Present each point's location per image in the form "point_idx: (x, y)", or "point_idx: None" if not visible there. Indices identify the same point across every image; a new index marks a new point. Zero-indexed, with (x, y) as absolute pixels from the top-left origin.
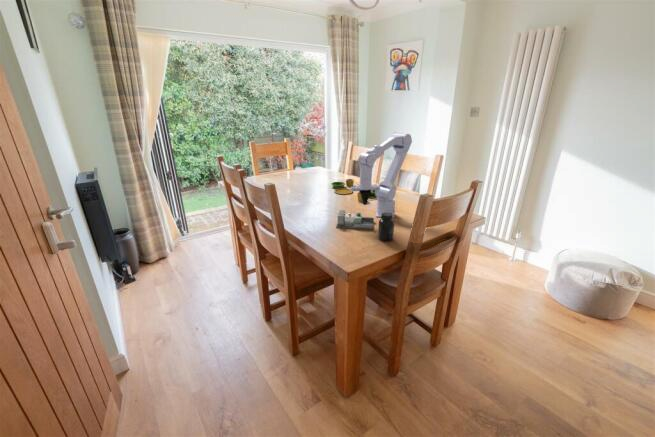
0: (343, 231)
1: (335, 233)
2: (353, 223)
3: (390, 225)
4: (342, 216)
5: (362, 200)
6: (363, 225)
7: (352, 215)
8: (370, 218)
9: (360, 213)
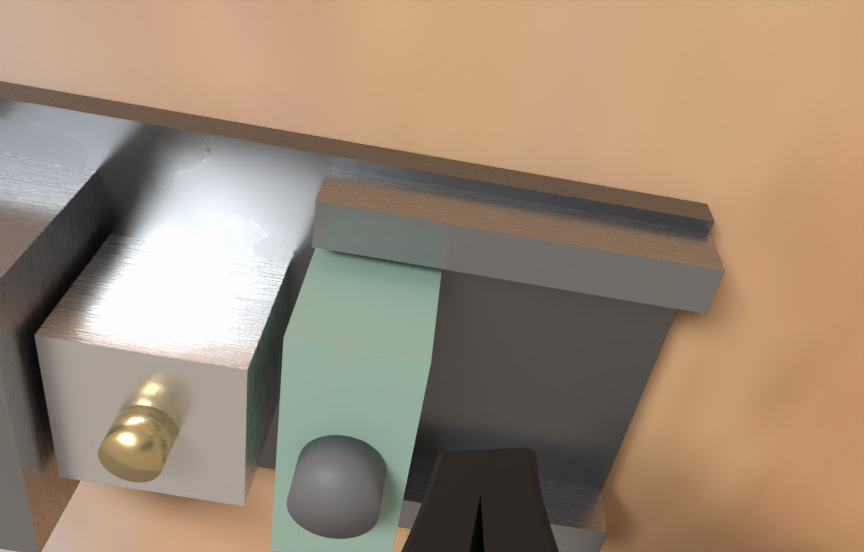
0: (158, 503)
1: (66, 538)
2: (276, 407)
3: None
4: (18, 542)
5: (408, 543)
6: None
7: (210, 432)
8: (633, 296)
9: (375, 518)
